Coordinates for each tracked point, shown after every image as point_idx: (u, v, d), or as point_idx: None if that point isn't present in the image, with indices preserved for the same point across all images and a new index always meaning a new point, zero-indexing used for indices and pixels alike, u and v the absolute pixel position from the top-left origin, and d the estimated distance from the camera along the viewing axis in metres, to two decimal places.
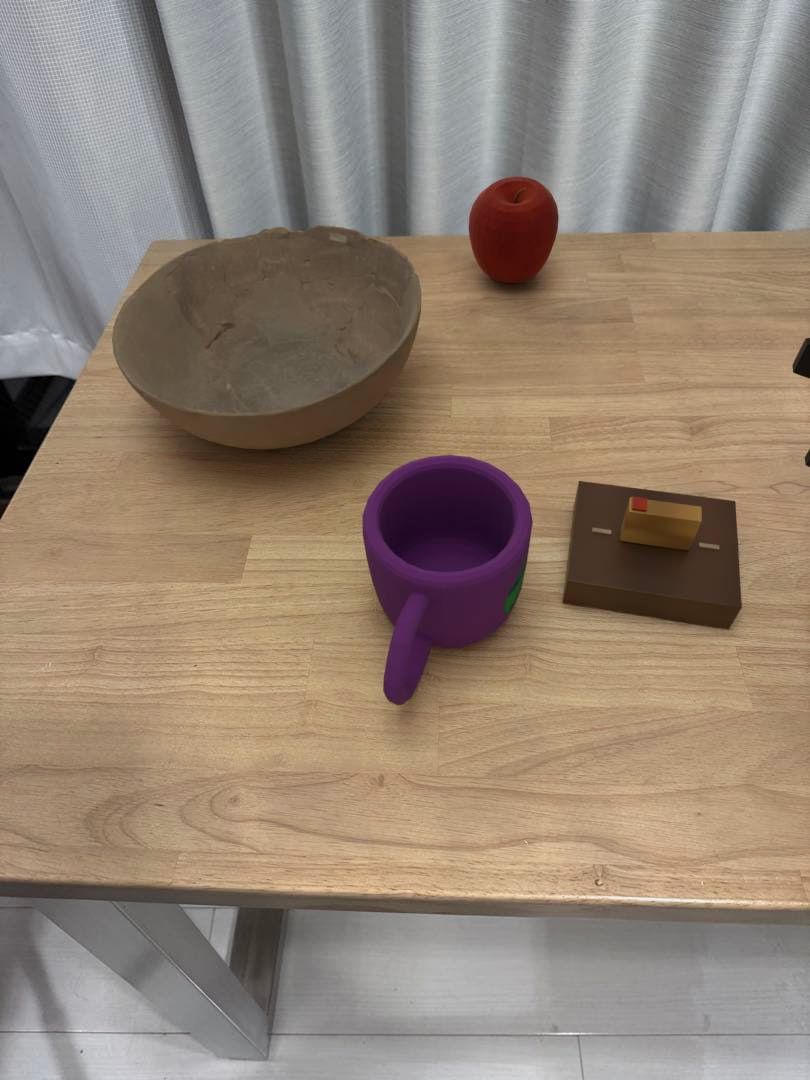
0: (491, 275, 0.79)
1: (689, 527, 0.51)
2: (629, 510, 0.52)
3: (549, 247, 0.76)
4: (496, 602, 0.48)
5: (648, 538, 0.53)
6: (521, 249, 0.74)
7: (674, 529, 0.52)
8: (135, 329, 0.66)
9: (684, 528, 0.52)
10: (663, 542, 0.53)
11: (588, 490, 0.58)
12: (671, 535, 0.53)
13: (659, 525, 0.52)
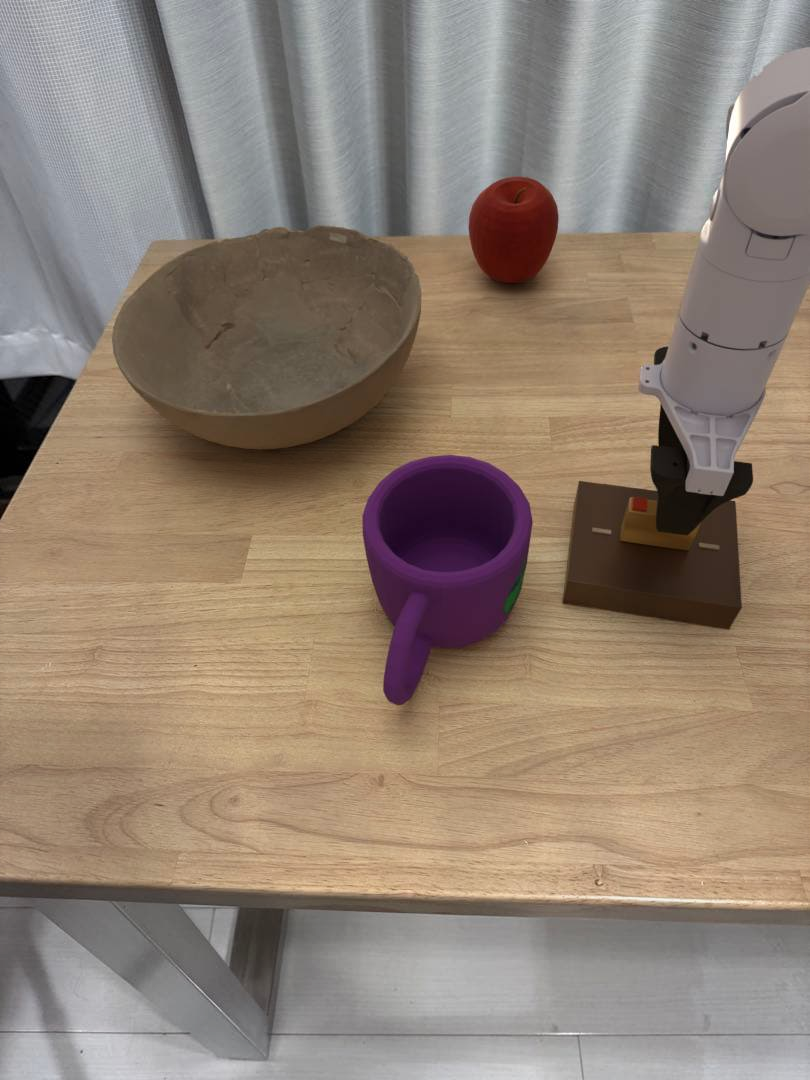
0: (491, 275, 0.79)
1: None
2: (629, 510, 0.52)
3: (549, 247, 0.76)
4: (496, 602, 0.48)
5: (648, 538, 0.53)
6: (521, 249, 0.74)
7: None
8: (135, 329, 0.66)
9: None
10: (663, 542, 0.53)
11: (588, 490, 0.58)
12: (671, 535, 0.53)
13: None
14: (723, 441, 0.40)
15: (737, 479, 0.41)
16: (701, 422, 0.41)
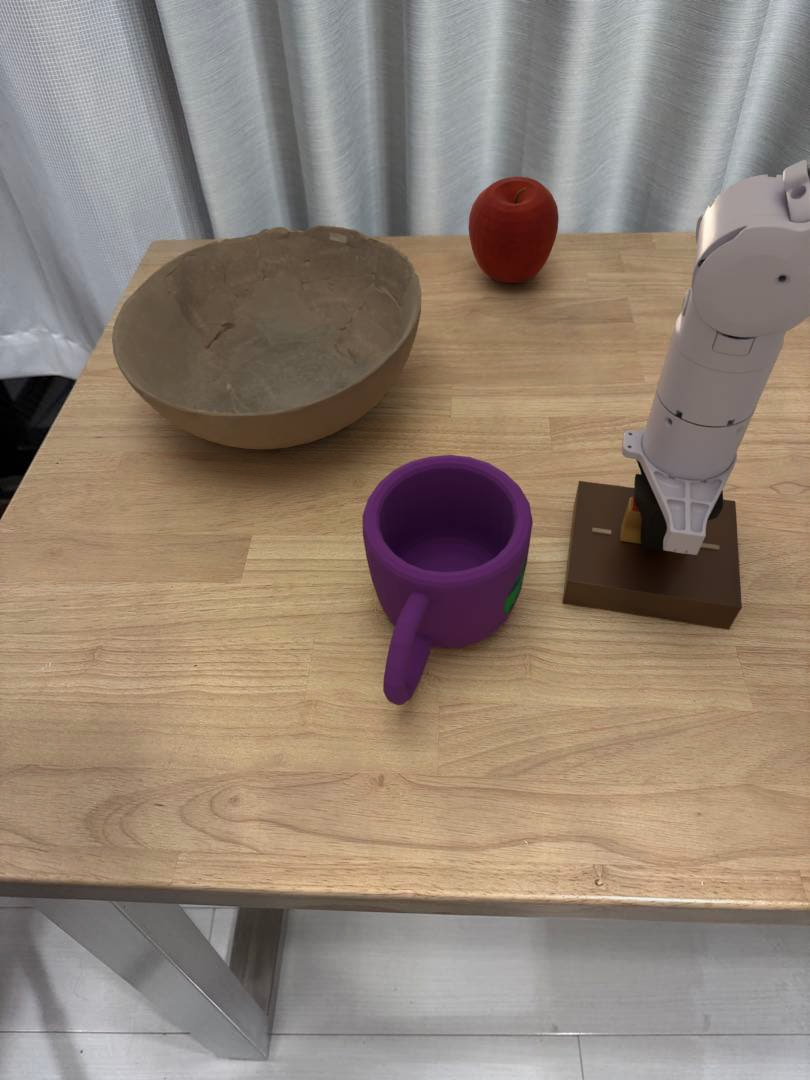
0: (491, 275, 0.79)
1: None
2: (629, 510, 0.52)
3: (549, 247, 0.76)
4: (496, 602, 0.48)
5: None
6: (521, 249, 0.74)
7: None
8: (135, 329, 0.66)
9: None
10: None
11: (588, 490, 0.58)
12: None
13: None
14: (697, 505, 0.44)
15: None
16: (678, 486, 0.45)
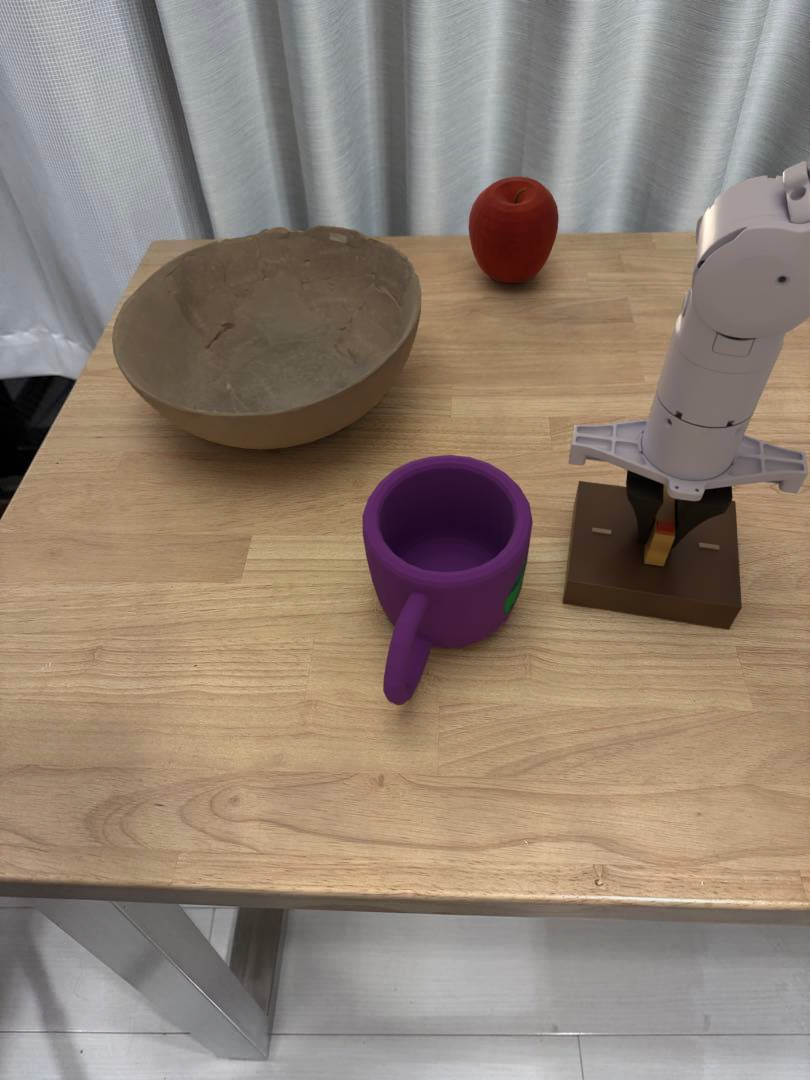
0: (491, 275, 0.79)
1: None
2: (672, 537, 0.50)
3: (549, 247, 0.76)
4: (496, 602, 0.48)
5: None
6: (521, 249, 0.74)
7: None
8: (135, 329, 0.66)
9: None
10: None
11: (588, 490, 0.58)
12: None
13: None
14: (762, 453, 0.46)
15: None
16: (737, 463, 0.46)
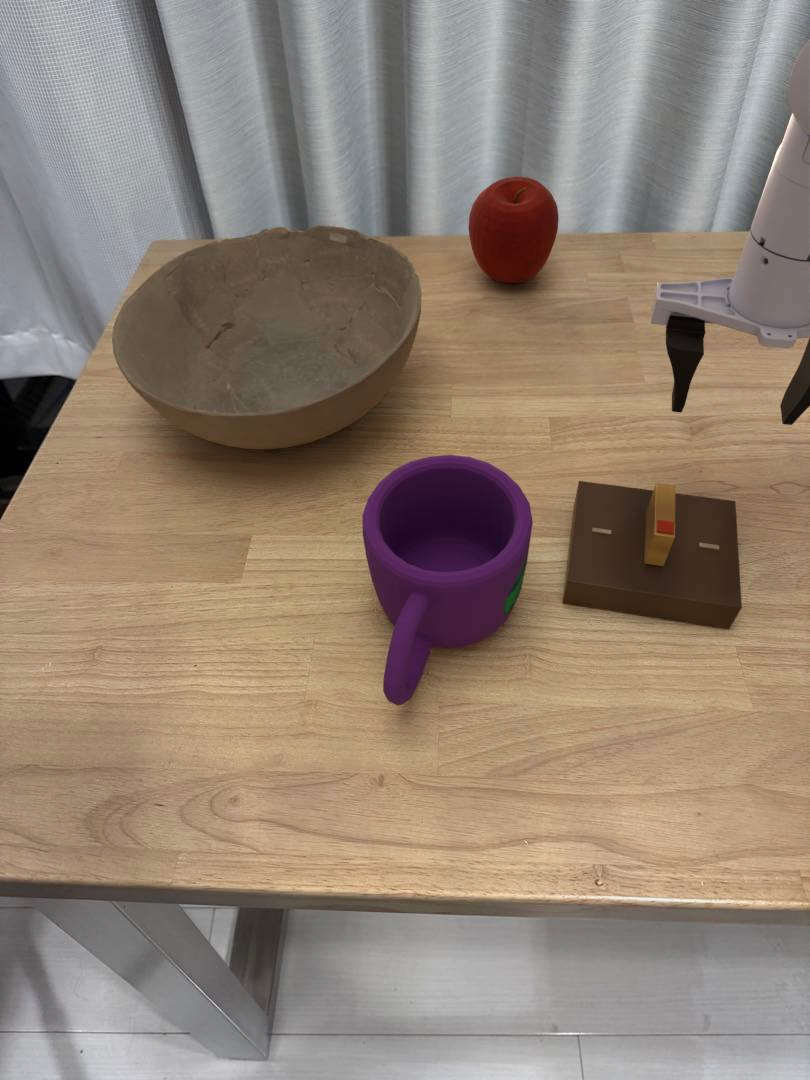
0: (491, 275, 0.79)
1: None
2: (672, 537, 0.50)
3: (549, 247, 0.76)
4: (496, 602, 0.48)
5: None
6: (521, 249, 0.74)
7: None
8: (135, 329, 0.66)
9: None
10: None
11: (588, 490, 0.58)
12: None
13: None
14: None
15: None
16: None
